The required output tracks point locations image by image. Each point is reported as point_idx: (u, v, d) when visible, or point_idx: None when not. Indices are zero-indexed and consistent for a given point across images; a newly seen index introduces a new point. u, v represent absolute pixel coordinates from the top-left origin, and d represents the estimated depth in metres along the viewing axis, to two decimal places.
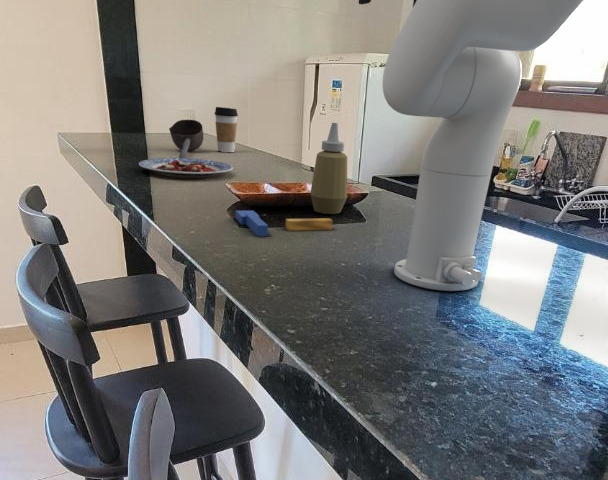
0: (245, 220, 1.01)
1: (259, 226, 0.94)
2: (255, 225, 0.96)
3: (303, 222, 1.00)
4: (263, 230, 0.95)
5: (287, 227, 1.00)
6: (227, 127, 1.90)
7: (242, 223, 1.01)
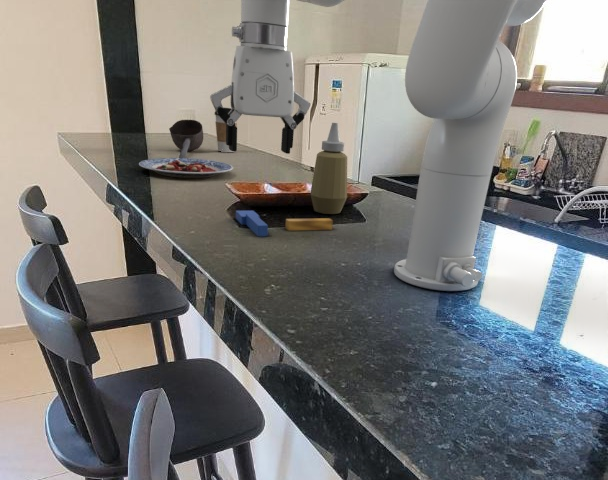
0: (245, 220, 1.01)
1: (259, 226, 0.94)
2: (255, 225, 0.96)
3: (303, 222, 1.00)
4: (263, 230, 0.95)
5: (287, 227, 1.00)
6: None
7: (242, 223, 1.01)
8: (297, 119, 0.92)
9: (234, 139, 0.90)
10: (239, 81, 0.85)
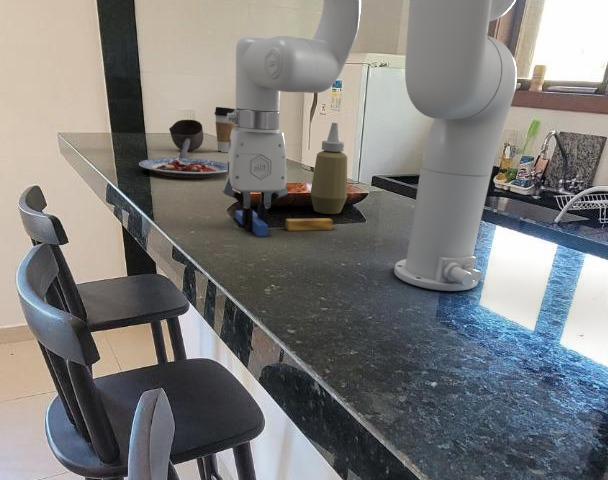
0: None
1: (259, 226, 0.94)
2: (255, 225, 0.96)
3: (303, 222, 1.00)
4: (263, 230, 0.95)
5: (287, 227, 1.00)
6: (227, 127, 1.90)
7: (242, 223, 1.01)
8: (271, 199, 0.97)
9: (250, 220, 0.97)
10: (234, 162, 0.90)
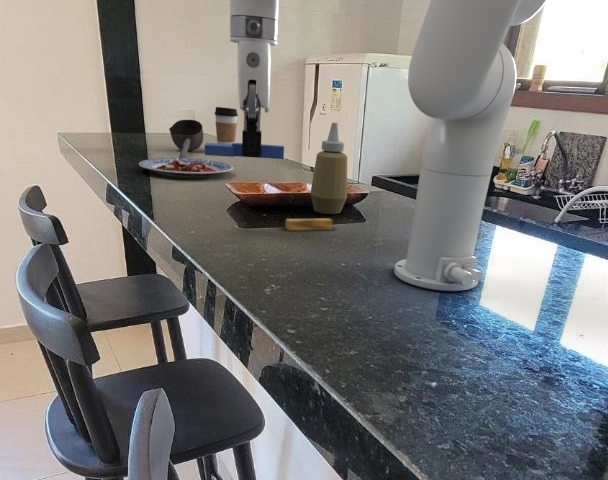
0: (234, 151, 0.91)
1: (283, 147, 0.92)
2: (273, 149, 0.91)
3: (303, 222, 1.00)
4: None
5: (287, 227, 1.00)
6: (227, 127, 1.90)
7: (234, 155, 0.91)
8: None
9: None
10: (268, 79, 0.83)
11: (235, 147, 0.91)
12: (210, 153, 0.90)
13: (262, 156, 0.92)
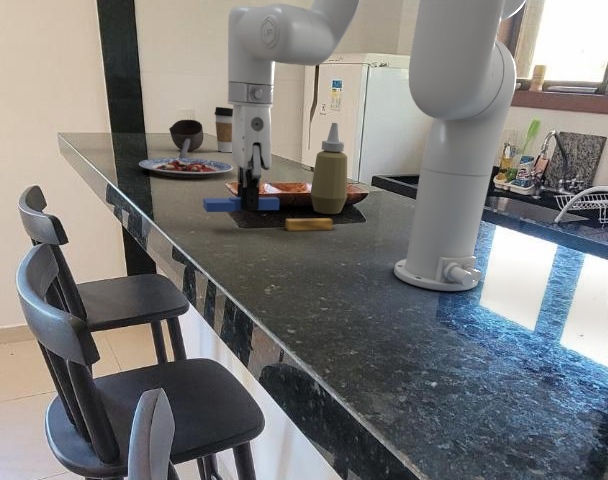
0: (234, 205, 0.94)
1: (278, 199, 0.97)
2: (269, 201, 0.96)
3: (303, 222, 1.00)
4: None
5: (287, 227, 1.00)
6: (227, 127, 1.90)
7: (234, 210, 0.94)
8: None
9: (258, 198, 0.95)
10: None
11: (234, 202, 0.94)
12: (212, 210, 0.93)
13: (259, 209, 0.96)
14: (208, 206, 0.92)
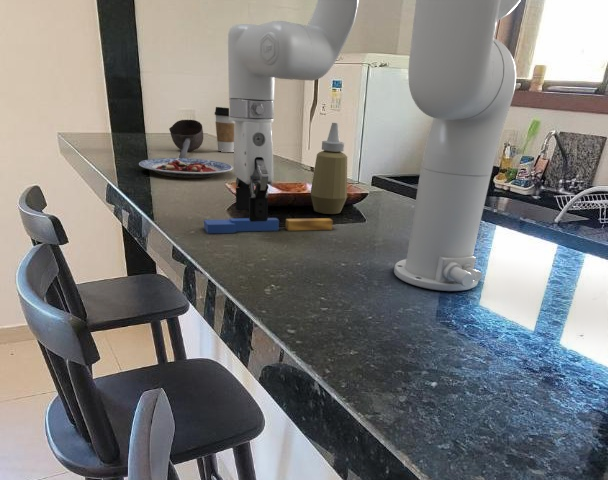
0: (234, 227, 0.96)
1: None
2: (269, 222, 0.98)
3: (303, 222, 1.00)
4: None
5: (287, 227, 1.00)
6: (227, 127, 1.90)
7: (234, 231, 0.96)
8: None
9: None
10: (272, 155, 0.89)
11: (235, 223, 0.96)
12: (213, 231, 0.94)
13: (259, 229, 0.98)
14: (209, 228, 0.94)
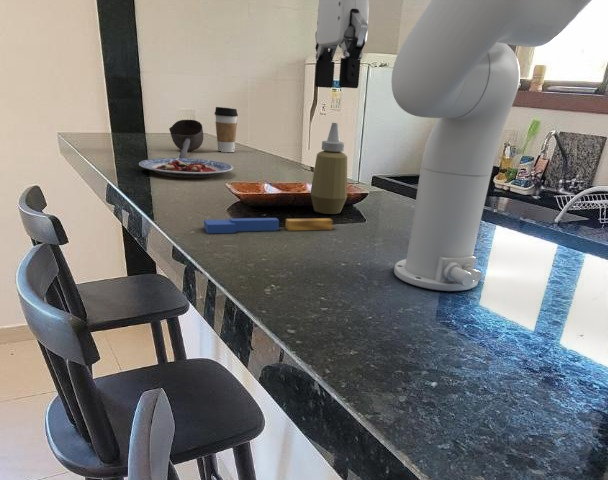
0: (234, 227, 0.96)
1: None
2: (269, 222, 0.98)
3: (303, 222, 1.00)
4: None
5: (287, 227, 1.00)
6: (227, 127, 1.90)
7: (234, 231, 0.96)
8: None
9: (358, 74, 0.84)
10: (368, 9, 0.80)
11: (235, 223, 0.96)
12: (213, 231, 0.94)
13: (259, 229, 0.98)
14: (209, 228, 0.94)
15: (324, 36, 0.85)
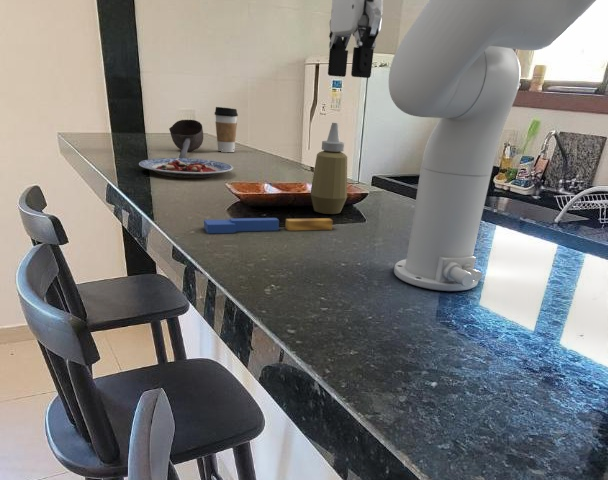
0: (234, 227, 0.96)
1: None
2: (269, 222, 0.98)
3: (303, 222, 1.00)
4: None
5: (287, 227, 1.00)
6: (227, 127, 1.90)
7: (234, 231, 0.96)
8: None
9: None
10: None
11: (235, 223, 0.96)
12: (213, 231, 0.94)
13: (259, 229, 0.98)
14: (209, 228, 0.94)
15: (338, 24, 0.85)
